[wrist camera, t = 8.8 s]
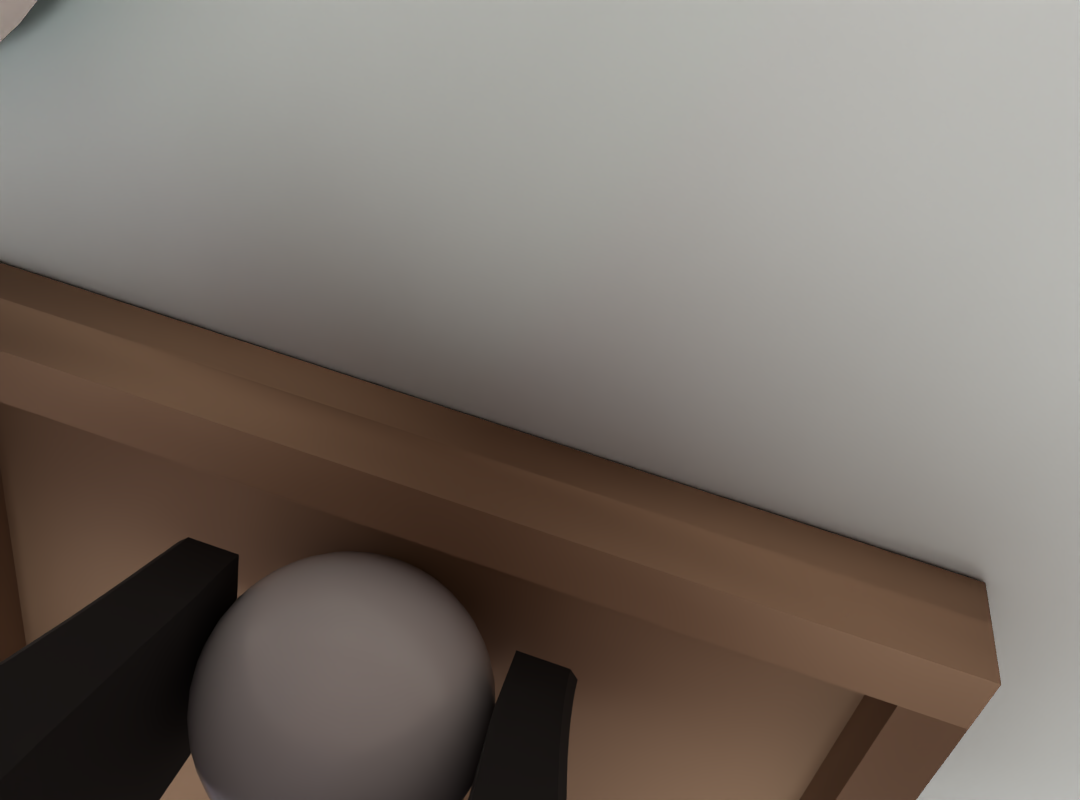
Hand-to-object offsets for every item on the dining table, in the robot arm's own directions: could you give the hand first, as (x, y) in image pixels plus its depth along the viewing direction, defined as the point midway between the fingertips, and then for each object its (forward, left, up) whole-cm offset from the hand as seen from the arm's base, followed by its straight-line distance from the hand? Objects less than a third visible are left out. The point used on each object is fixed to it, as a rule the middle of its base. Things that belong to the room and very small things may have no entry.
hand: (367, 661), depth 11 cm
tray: (0, -5, -2) cm, 5 cm away
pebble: (0, 0, -1) cm, 1 cm away
